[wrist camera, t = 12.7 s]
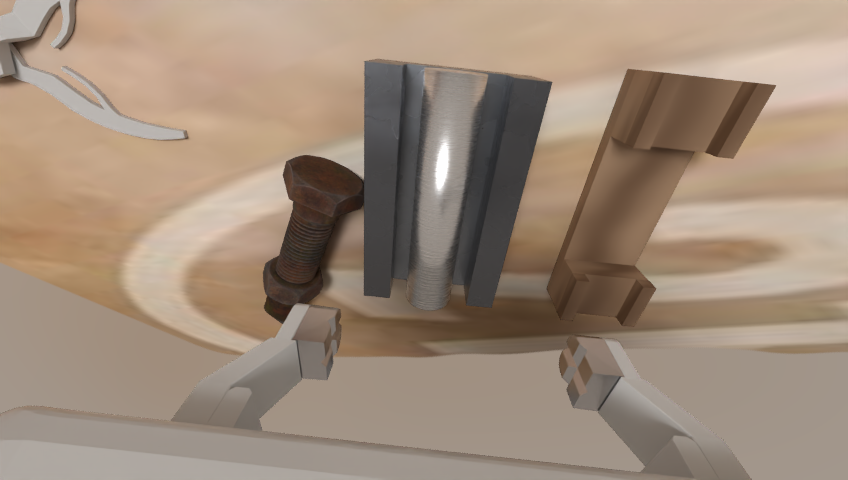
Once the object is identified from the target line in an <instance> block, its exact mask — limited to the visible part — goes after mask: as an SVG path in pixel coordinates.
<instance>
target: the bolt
mask: <svg viewBox="0 0 848 480" xmlns="http://www.w3.org/2000/svg"><path fill="white" fill-rule="evenodd" d="M283 178H284V181H285V185H286V189H287V193H288V197H289V199H290V200H293V201H294V202H293V210H292V213H291V217H290V221H289V224H288V227H287V231H286V234H285V237H284V241H283V244H282V247H281V251H280V255H279V256H277V257H275V258H273V259H272V260H270V261H268V262H267V263H266V264H265V267H264V271H263V282H264V289H265V293H266V295H267V298H266V302H265V305H264V309H265V311H266V312H267V313H268V314H269V315H271V316H272V317H274V318H275V319H276V320H278V321H279V322H280V323H282V324H283V323H284V322H285V320H286V318H287V317H288V315H289V313H290V311H291V310H292V308H293V306H294V305H295V304H297V303H301V304H304V303H306V302H308V301H309V300H311V299H312V298H314V297H315V296H316V295H318V294H319V293H320V291H321V288H322V286H323V280H322V274H321V270H320V268H319V264H320V262H321V259H322V256H323V254H324V251H325V249H326V246H327V243H328V240H329V238H330V236H331V233H332V230H333V228H334V226H335V223H336V221H337V220H338V218H339V216H340V215H341V214H345V213H348V212H351V211H355V210H358V209H361V207H362V204H363V202H364V186H363V183H362V181H361V179H360V178H359V177H357V176H356V175H355V174H354V173H353V172H352V171H350V170H349V169H348V168H346V167H344V166H342V165H340V164H338V163H336V162H334V161H331V160H328V159H325V158H321V157H316V156H310V155H303V156H299V157H295V158H293V159H291V160H289V161H286V165H285V169H284V172H283Z"/></svg>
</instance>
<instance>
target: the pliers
mask: <svg viewBox="0 0 848 480" xmlns="http://www.w3.org/2000/svg"><path fill="white" fill-rule="evenodd" d="M75 2H76V0H16V2H15V5H14V7H13V10H12V12H11V13H8V14H5V15H2V16H0V78H3V77H5V76H8V75H11V76H13V77H14V78H15V79H18V80H21V81H25V82H28V83H31V84H33V85H35V86H37V87H39V88H40V89H42V90H44V91H46V92H47V93H49V94H51V95H52V96H54V97H55V98H56V99H58V100H59V101H60V102H62V103H63V104H64V105H66V106H67V107H68V108H70V109H71V110H72V111H74V112H76V113H78V114H79V115H81V116H83V117H85V118H87V119H88V120H91V121H93V122H95V123H97V124H100V125H102V126H104V127H107V128H110V129H112V130H115V131H118V132H121V133H125V134H128V135H132V136H137V137H142V138H148V139H158V140H167V139H181V138H187V137H188V135H187V132H186V130H180V129H174V128H169V127H164V126H160V125H155V124H151V123H146V122H143V121H140V120H137V119H134V118H131V117H128V116H125V115H123V114H121V113H120V112H119V111H118V110H117V109H116V108H115V107H114V106H113V104H112V103H111V102H110V100H109V99H108V98H107V97H106V95H105V94H104V93H103V92H102V91H101V90H100V89H99V88H98V87H97V86H96V85H94V84H93V83H92V82H91V81H89V80H88V79H87V78H85V77H84V76H82V75H81V74H79V73H78V72H76V71H74V70H73V69H71V68H69V67H68V66H62V71H64V72H66V73H67V74H69V75H71V76H72V77H74V78H75V79H77V80H78V81H79V82H81V83H82V84H84V85H85V86H86V87H87V88H88V89H89V90H90V91H91V92H92V93H93V94H94V95H95V96H96V97H97V99H98V100H99V102H100V103H101V105H102V106H101V105H99V104H97V103H95V102H94V101H93V100H91V99H90V98H88V97H87V96H85V95H84V94H82V93H81V92H80V91H78V90H77V89H76V88H74V87H73V86H72V85H70V84H69V83H68V82H66V81H65V80H63V79H62V78H61V77H59V76H58V75H55V74H52V73H49V72H46V71H43V70H40V69H37V68H34V67H31V66H29V65H28V64H27V63H26V61H25V60H24V59H23V57H22V56H21V55H20V53H19V52H18V51H17V49H16V48H15V47H14V45H13V44H12V43H11V42H18V41H25V40H29V39H32V38H36V37H40V36H41V34H42V32H43V30H44V28H45V26H46V24H47V22H48V20H49V19H50V17H51V15H52V14H53V12H54V11H55V9H56V8H57V7H58V6H60V5H61V9H62V13H63V23H62V29H61V31H60V33H59V34H58V36H57V38H56V39H55V40H54V41H53V42H52V43H51V44H50V45H51V46H52V47H53V48H60V47H61V46H62V45H64V44H65V43H66V42H67V40H68V39H69V37H70V36H71V35H72V32H73V28H74V24H75Z"/></svg>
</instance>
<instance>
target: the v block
mask: <svg viewBox="0 0 848 480" xmlns="http://www.w3.org/2000/svg"><path fill="white" fill-rule="evenodd" d="M425 68H444V69H454V70H463V71H471V72H478V73H484V74H488V78H487V84H486V90H485V96H484V102H483V107H482V113H481V119H480V125H479V131H478V136H477V142H476V148H475V154H474V160H473V166H472V171H471V177H470V183H469V189H468V195H467V200H466V206H465V212H464V218H463V224H462V229H461V235H460V241H459V247H458V253H457V258H456V264H455V270H454V276H453V282H452V284H457V285H464V291H465V300H466V305H469V306H479V307H489V308H492V304H493V300H494V297H495V293H496V289H497V285H498V282H499V278H500V274H501V271H502V267H503V263H504V260H505V256H506V252H507V248H508V245H509V241H510V237H511V234H512V230H513V226H514V222H515V219H516V215H517V211H518V208H519V204H520V200H521V196H522V193H523V189H524V185H525V182H526V178H527V174H528V170H529V167H530V163H531V159H532V156H533V152H534V148H535V145H536V141H537V137H538V133H539V130H540V126H541V122H542V119H543V115H544V111H545V107H546V104H547V100H548V96H549V93H550V89H551V85H552V82H550V81H547V80H543V79H540V78H536V77H532V76H526V75H517V74H508V73H499V72H490V71H481V70H472V69H463V68H454V67H445V66H436V65H427V64H418V63H409V62H400V61H391V60H382V59H375V60H369V61H365V104H364V295H365V296H376V297H386V298H390V293H391V288H392V283H393V278H396V279H406V280H407V277H408V264H409V252H410V240H411V228H412V216H413V204H414V191H415V179H416V167H417V155H418V143H419V131H420V118H421V106H422V94H423V82H424V70H425Z"/></svg>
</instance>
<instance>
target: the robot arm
mask: <svg viewBox="0 0 848 480" xmlns="http://www.w3.org/2000/svg"><path fill="white" fill-rule="evenodd" d="M340 318H341V310H340V309H339V308H333V307H325V306H318V305H308V304H301V303H297V304H295V305H294V306H293V308H292V310H291V311H290V313H289V315H288V317H287V318H286V320H285V322H284V323H283V325H282V327H281V329H280V330H279V332H278V334H277V335H276V337H275V338H269V339H268V340H266V341H264V342H263V343H261V344H259V345H258V346H256V347H255V348H253V349H251V350H250V351H248V352H246V353H245V354H243V355H242V356H240V357H238V358H237V359H235V360H234V361H232V362H230V363H229V364H227V365H225V366H224V367H222V368H221V369H219V370H217V371H216V372H214V373H212V374H211V375H209V376H207V377H206V378H204V379H203V380H201V381H199V383H198V384H197V386H196V387H195V389H194V390H193V391H192V392H191V394H190V395H189V396H188V398H187V399H186V400H185V402H184V403H183V405H182V406H181V407H180V409H179V410H178V411H177V413H176V414H175V415H174V417H173V418H172V419H171V421H167V420H158V419H149V418H140V417H130V416H122V415H113V414H104V413H95V412H84V411H76V410H68V409H59V408H52V407H44V406H23V407H18V408H14V409H11V410H8V411H6V412H3V413H1V414H0V480H751V478H750V477H749V475H748V474H747V473H746V471H745V470H744V468H743V467H742V465H741V464H740V463H739V461H738V460H737V458H736V457H735V456H734V454H733V453H732V451H731V450H730V449H729V447H728V446H727V444H726V443H725V442H724V440H723V439H722V438H720V437H719V436H718V435H716V434H715V433H714V432H712V431H711V430H710V429H709V428H707V427H706V426H705V425H704V424H702V423H701V422H700V421H698V420H697V419H696V418H695V417H693V416H692V415H691V414H689V413H688V412H687V411H685V410H684V409H683V408H682V407H680V406H679V405H678V404H677V403H675V402H674V401H673V400H671V399H670V398H669V397H668V396H666V395H665V394H663V393H662V392H661V391H660V390H659V389H657V388H656V387H655V386H653V385H652V384H651V383H650V382H648V381H647V380H643V379H641V377H640V376H639V374H638V372H637V371H636V369H635V367H634V366H633V364H632V362H631V361H630V359H629V358H628V356H627V354H626V353H625V351H624V349H623V348H622V346H621V344H620V343H619V341H617V340H616V339H611V338H599V337H591V336H581V335H571V336H570V337H569V338H568V340H567V344H568V348H566V349H564V350H563V351H562V353H561V355H560V360H559V368H560V373H561V375H562V378H563V379H564V380H565V381H566V382H567V383H568V384H569V385H568V387H567V392H568V395H569V398H570V401H571V403H572V406H573V408H579V409H586V410H593V411H599V412H598V413H599V414H600V415H601V416H602V417H603V419H604V420H605V421H606V422H607V423H608V424H609V426H610V427H611V428H612V429H613V430H614V431H615V432H616V434H617V435H618V436H619V437H620V438H621V439H622V440H623V441H624V443H625V444H626V445H627V446H628V447H629V448H630V449H631V450H632V452H633V453H634V454H635V455H636V456H637V457H638V458H639V460H640V461H641V462H642V463H643V464H644V465H645V466H646V467H645V468H644V469H643V470H642V471H641V472H630V471H621V470H612V469H603V468H594V467H585V466H575V465H566V464H558V463H549V462H539V461H530V460H521V459H512V458H502V457H493V456H485V455H475V454H466V453H457V452H447V451H439V450H430V449H421V448H412V447H403V446H393V445H384V444H375V443H366V442H357V441H348V440H339V439H329V438H320V437H312V436H302V435H294V434H285V433H275V432H267V431H262V427H261V424H260V420H259V418H261V417H262V416H263V415H264V414H265V413H266V412H267V411H268V410H269V409H270V408H272V407H273V406H274V404H276V403H277V402H278V401H279V400H280V399H281V398H282V397H283V396H284V395H286V394H287V393H288V392H289V391H290V390H291V389H292V388H293V387H294V386H295V385H297V384H298V383H299V382H300V381H301V380H302V378H305V379H318V380H327V379H328V377H329V374H330V371H331V368H332V365H333V355H335V354H336V353H337V351H338V348H339V345H340V340H341V332H342V328H341V325H340V324H339V321H340Z"/></svg>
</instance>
